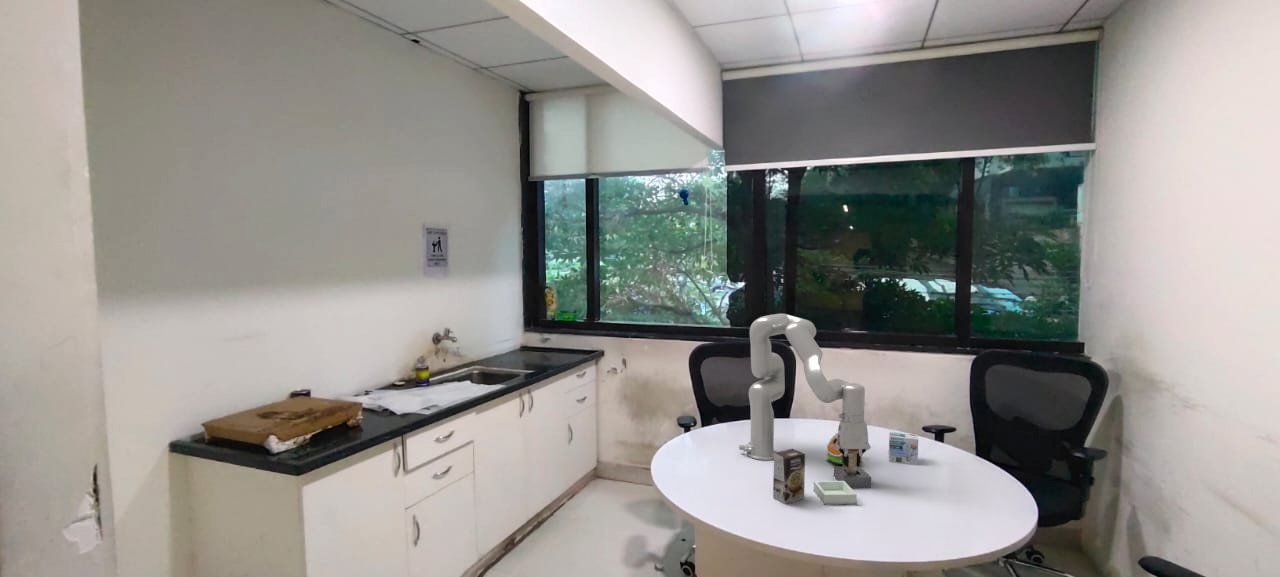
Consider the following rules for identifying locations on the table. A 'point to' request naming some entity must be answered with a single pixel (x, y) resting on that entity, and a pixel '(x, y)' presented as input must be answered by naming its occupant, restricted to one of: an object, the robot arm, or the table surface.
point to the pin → (852, 462)
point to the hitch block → (853, 477)
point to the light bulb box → (903, 448)
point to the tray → (834, 492)
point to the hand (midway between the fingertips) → (851, 465)
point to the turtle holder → (834, 451)
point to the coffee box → (789, 475)
